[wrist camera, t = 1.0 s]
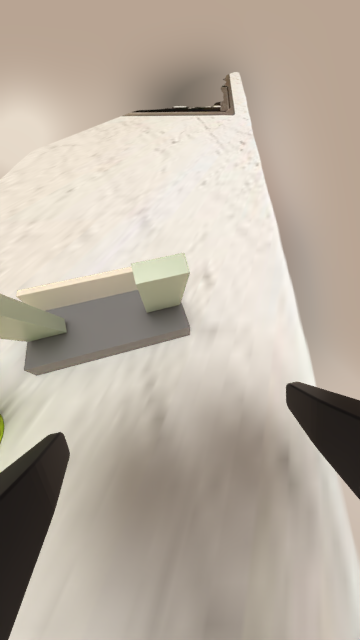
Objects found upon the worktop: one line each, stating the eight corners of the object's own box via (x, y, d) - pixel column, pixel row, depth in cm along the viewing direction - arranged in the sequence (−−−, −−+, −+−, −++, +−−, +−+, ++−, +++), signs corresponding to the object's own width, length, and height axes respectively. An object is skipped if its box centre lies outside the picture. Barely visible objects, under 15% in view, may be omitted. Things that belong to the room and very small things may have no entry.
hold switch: (66, 332, 21) (-2, 315, 13) (28, 341, 21) (-72, 330, 12) (64, 318, 22) (-5, 292, 13) (26, 327, 21) (-73, 306, 12)
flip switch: (180, 304, 23) (189, 272, 14) (146, 312, 22) (135, 284, 14) (176, 292, 23) (184, 252, 14) (143, 300, 23) (130, 263, 14)
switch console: (189, 334, 24) (191, 311, 19) (36, 375, 21) (-3, 360, 17) (172, 285, 27) (170, 257, 23) (42, 315, 25) (11, 290, 21)
